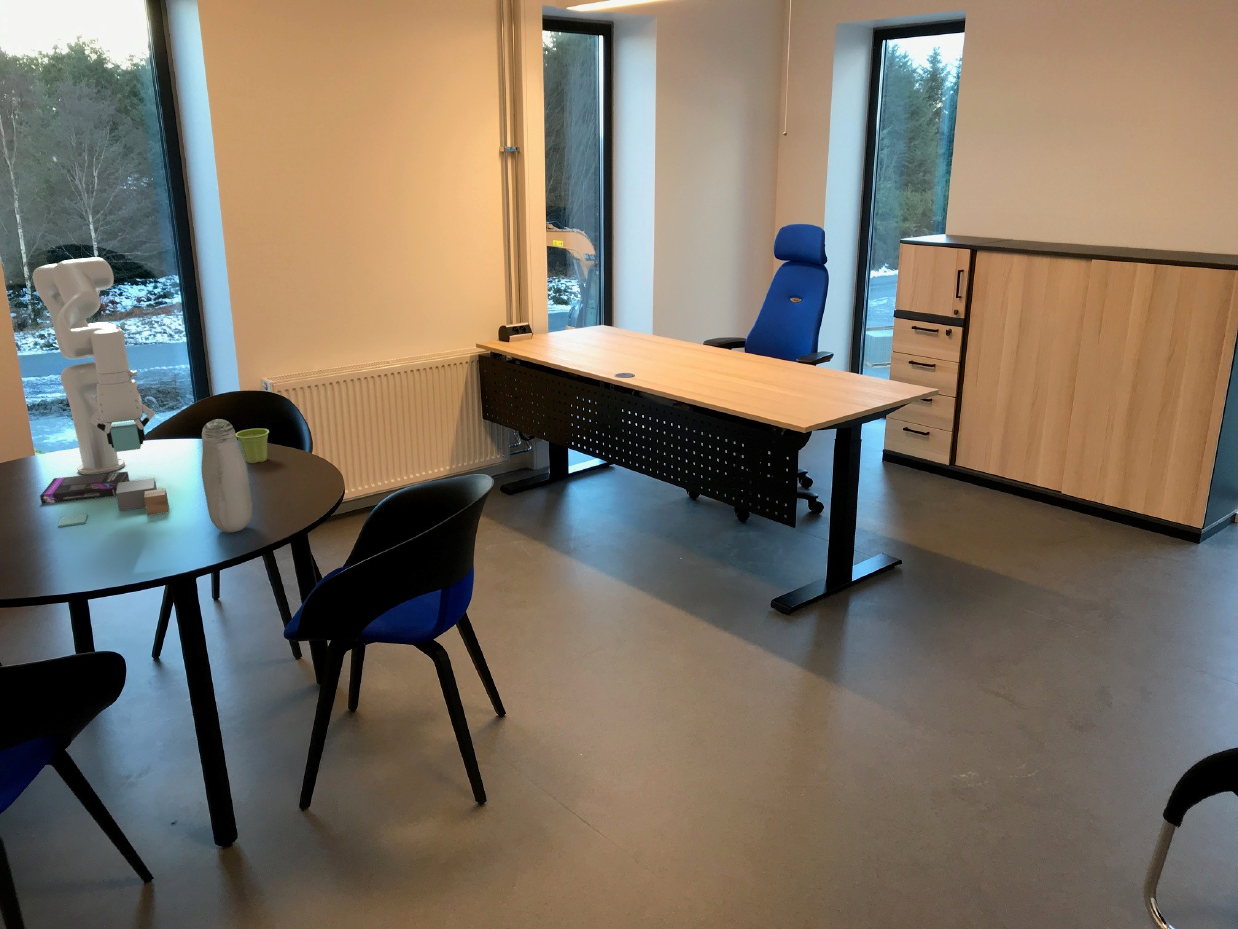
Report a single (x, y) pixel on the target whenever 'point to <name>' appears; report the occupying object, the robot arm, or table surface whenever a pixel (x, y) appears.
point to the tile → (73, 520)
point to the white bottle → (225, 477)
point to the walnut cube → (156, 501)
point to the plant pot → (253, 444)
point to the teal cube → (125, 436)
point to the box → (83, 487)
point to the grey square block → (133, 493)
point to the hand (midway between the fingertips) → (127, 444)
